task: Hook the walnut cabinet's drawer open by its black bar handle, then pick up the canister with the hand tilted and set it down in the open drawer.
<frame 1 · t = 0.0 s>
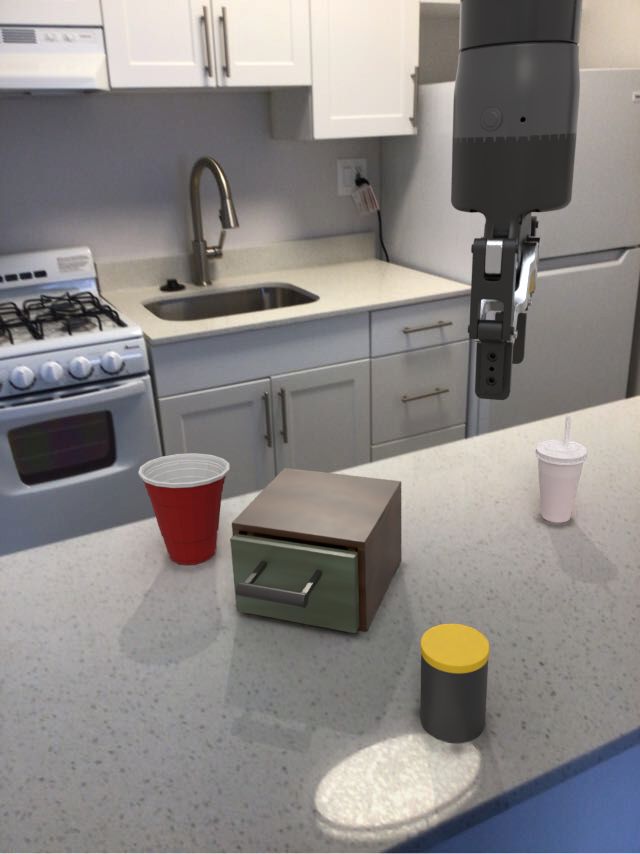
hand: (501, 378, 53), 32 cm above the worktop, tool pointing down, fingers open, 8 cm apart
smoothie: (555, 517, 100), on the worktop
plastic cup: (194, 553, 95), on the worktop
cabinet: (323, 583, 87), on the worktop
drawer: (306, 566, 81), point 5 cm above the worktop, slide at 0.5 cm
canister: (452, 719, 66), on the worktop
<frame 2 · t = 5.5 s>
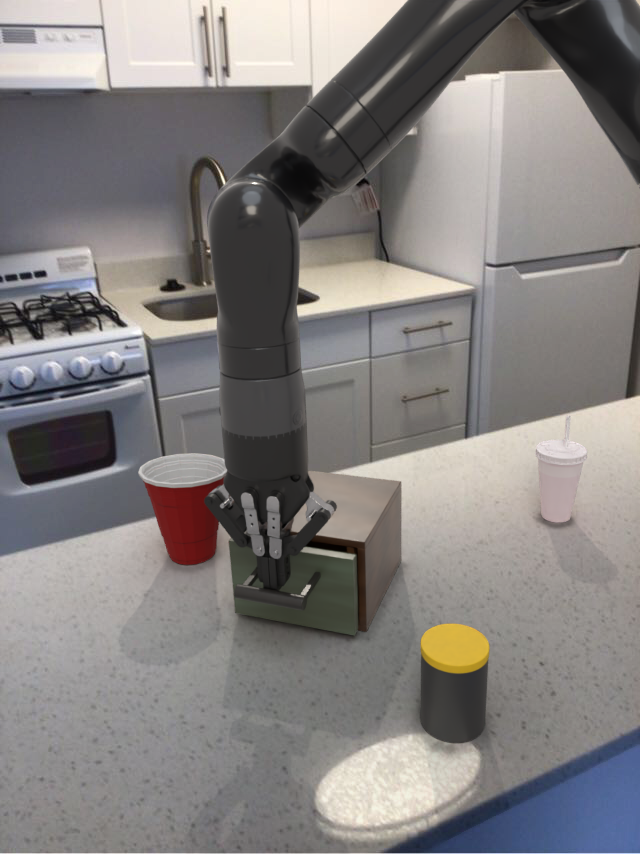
hand: (274, 585, 73), 8 cm above the worktop, tool pointing down, fingers closed
drawer: (304, 568, 80), point 5 cm above the worktop, slide at 0.9 cm, touching gripper
everything else where it was.
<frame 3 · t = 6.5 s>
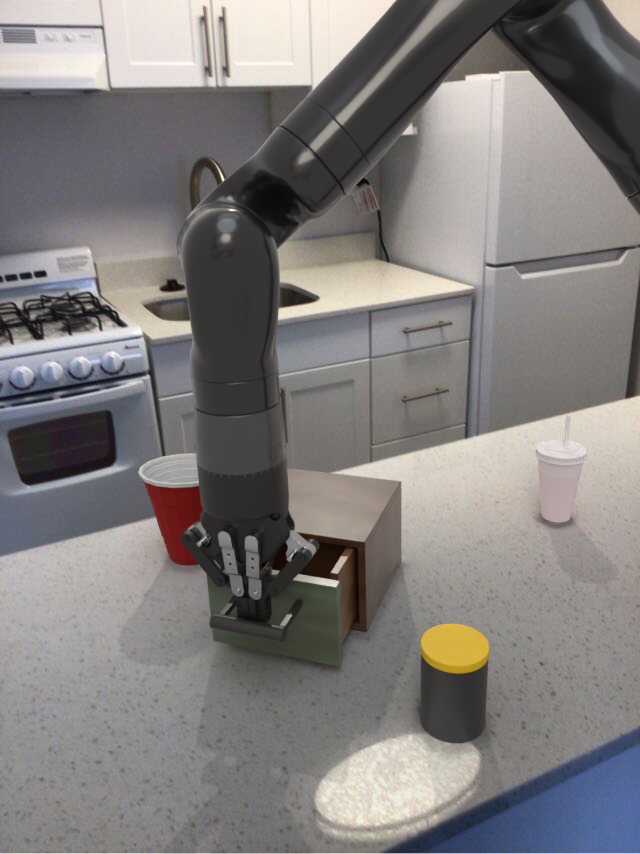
hand: (255, 625, 69), 6 cm above the worktop, tool pointing down, fingers closed
drawer: (287, 593, 76), point 5 cm above the worktop, slide at 5.9 cm, touching gripper
everything else where it was.
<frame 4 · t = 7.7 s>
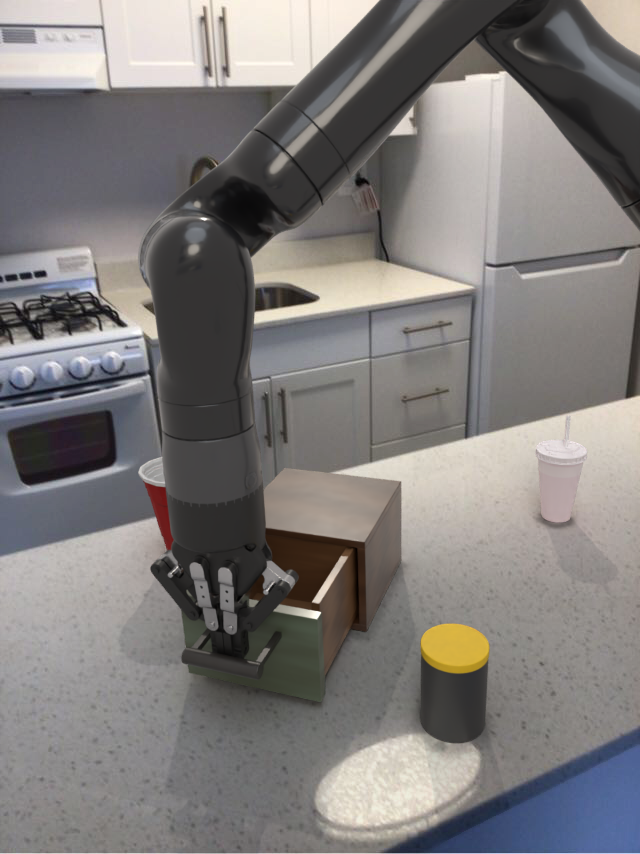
hand: (231, 660, 65), 6 cm above the worktop, tool pointing down, fingers closed
drawer: (266, 622, 71), point 5 cm above the worktop, slide at 10.9 cm, touching gripper
everything else where it was.
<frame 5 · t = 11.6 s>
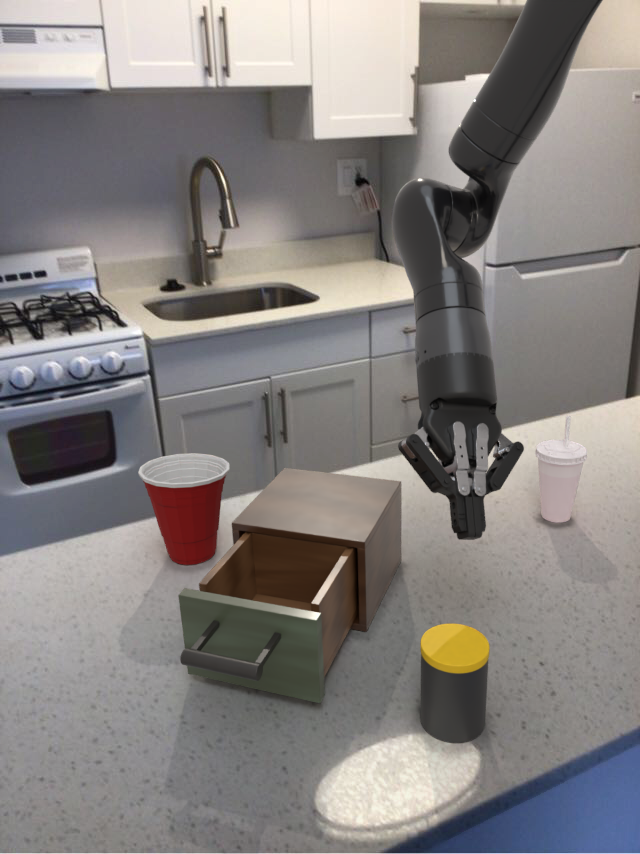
hand: (470, 538, 70), 13 cm above the worktop, tool tilted 40°, fingers closed
drawer: (266, 623, 71), point 5 cm above the worktop, slide at 11.1 cm
everything else where it was.
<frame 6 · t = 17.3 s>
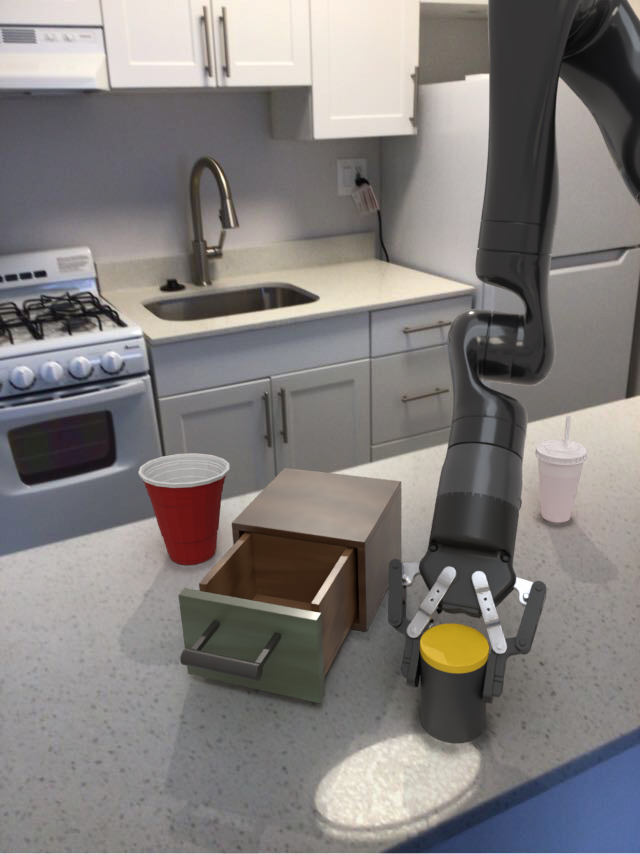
hand: (449, 693, 63), 4 cm above the worktop, tool tilted 45°, fingers closed on canister, 5 cm apart
canister: (452, 719, 66), on the worktop, touching gripper
everything else where it was.
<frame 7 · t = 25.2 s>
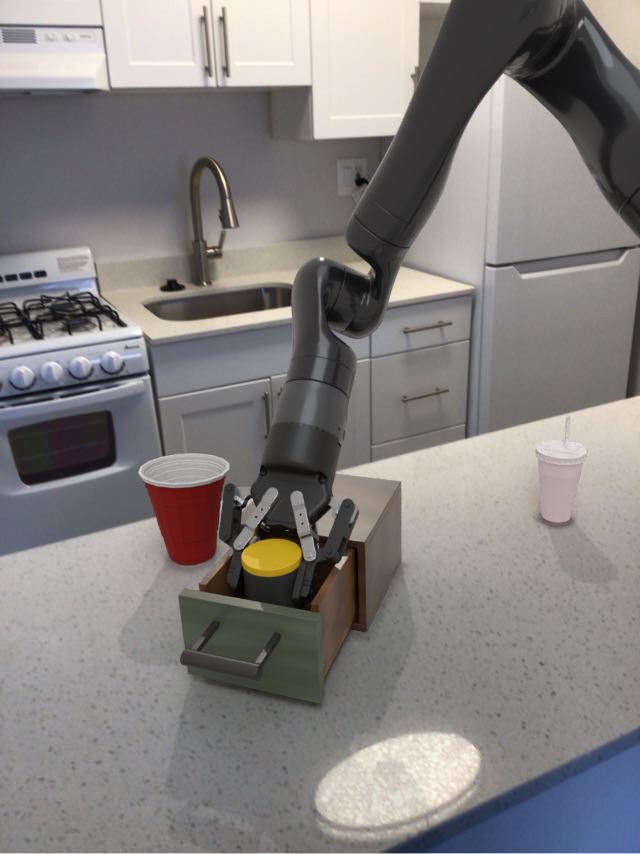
hand: (267, 597, 71), 8 cm above the worktop, tool tilted 45°, fingers closed on canister, 5 cm apart
canister: (276, 624, 74), point 4 cm above the worktop, touching gripper
everything else where it was.
when the fingers open (10 cm above the worktop, at t = 41.0 s): canister drops 4 cm, resting on drawer.
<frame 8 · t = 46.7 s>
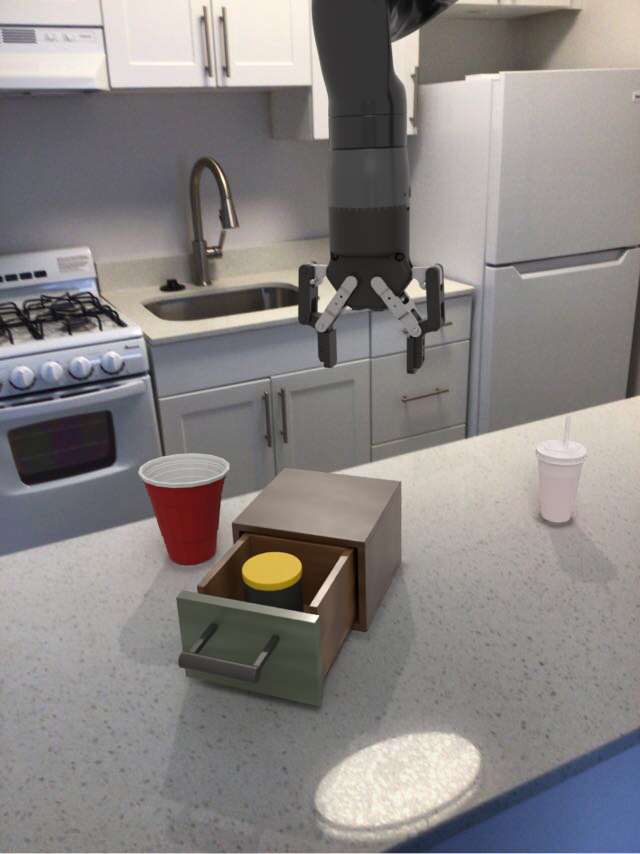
hand: (371, 369, 76), 26 cm above the worktop, tool pointing down, fingers open, 8 cm apart
drawer: (264, 626, 71), point 5 cm above the worktop, slide at 11.5 cm, touching canister
canister: (276, 637, 75), point 2 cm above the worktop, touching drawer
everything else where it was.
at the end: drawer slide at 11.5 cm; canister inside the target area in the drawer (0.1 cm from its centre), point 2.0 cm above the cabinet's base; the gripper is holding nothing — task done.
